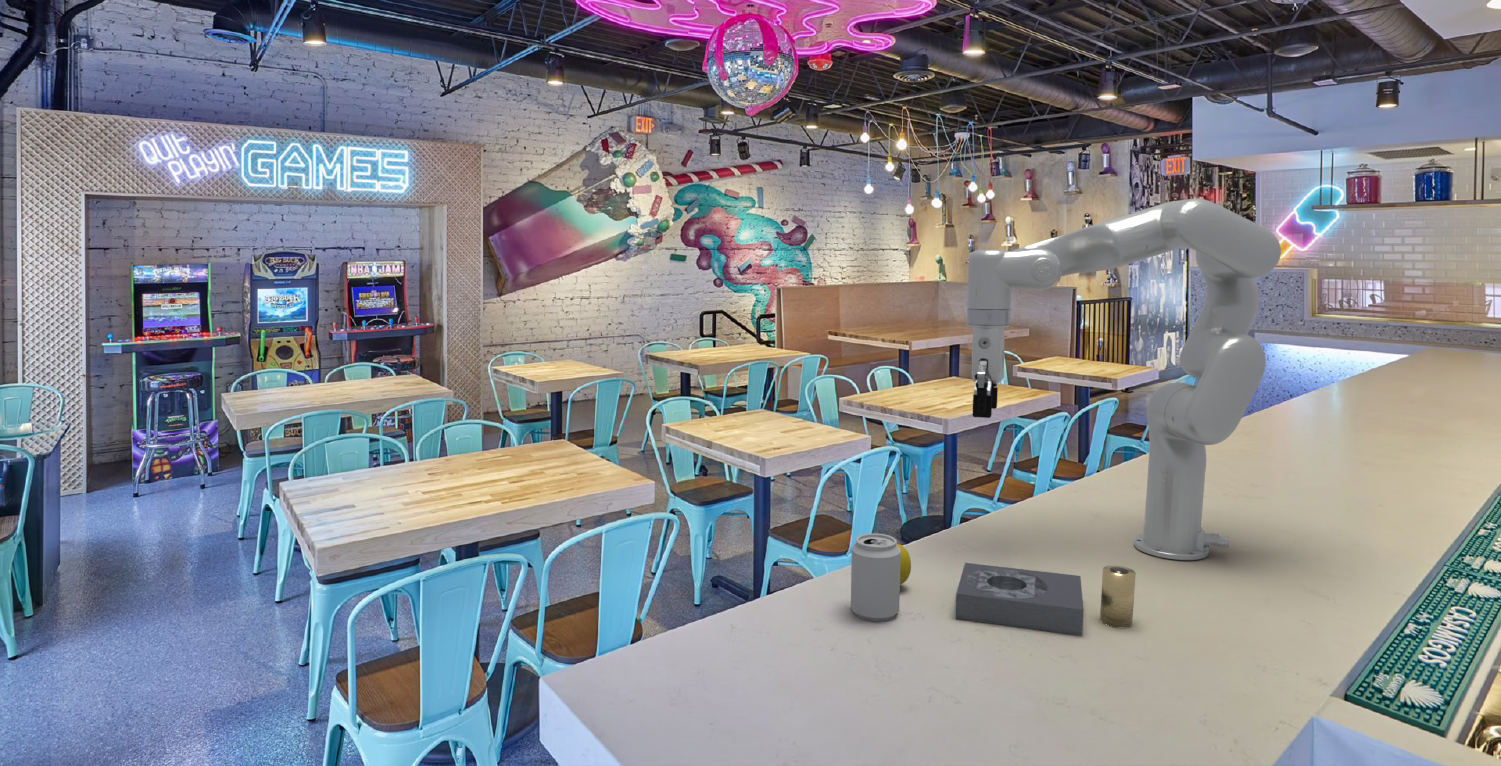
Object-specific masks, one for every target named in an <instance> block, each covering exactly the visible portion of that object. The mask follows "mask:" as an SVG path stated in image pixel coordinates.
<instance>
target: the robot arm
mask: <svg viewBox="0 0 1501 766" xmlns="http://www.w3.org/2000/svg"><path fill="white" fill-rule="evenodd" d="M1186 249H1187V250H1188V249H1189V250H1190V249H1192V250H1194V251H1195V260H1196V264H1197V266H1198V268H1199V270H1200V272H1201V274H1202V275H1203V278H1204V281H1205V285H1206V296H1205V297H1206V298H1205V301H1204V303H1203V305H1202V308H1201V311H1200V312H1199V316H1198V317H1197V319H1196V321H1195V323H1194V325H1193V327H1192V328H1191V331H1190V333H1189V335H1188V337H1187V339H1186V341H1185V342H1184V344H1183V346H1182V349H1181V352H1180V354H1179V364H1180V367H1181V369H1182V370H1183V371H1184V372H1185V373H1186V374H1187V375H1188V376H1189V377H1192V378H1194V379H1196V380H1197V379H1198V380H1199V381H1198V383H1197V384H1196V385H1193V384H1191V383H1185V382H1178V381H1177V382H1168V383H1166V384H1163V385H1161V386H1159V387H1158V388H1157V389H1155V391H1154V392H1153V393H1152V394H1151V396H1150V398H1149V400H1148V404H1147V409H1146V415H1147V417H1146V419H1147V420H1146V421H1147V428H1148V429H1147V430H1148V436H1149V437H1148V439H1149V445H1148V447H1149V449H1148V450H1149V451H1148V468H1147V479H1146V482H1147V483H1146V496H1145V497H1146V498H1145V510H1144V525H1143V526H1144V527H1143V534H1139V535H1136V536H1135V537H1134V540H1133V545H1134V546H1135V548H1136V549H1137V550H1138V551H1140V552H1142V553H1145V554H1148V555H1150V556H1151V555H1152V556H1153V557H1158V558H1163V559H1168V560H1176V561H1177V560H1178V561H1196V560H1202V559H1204V558H1207V557H1208V556H1209V551H1210V549H1209V548H1210V546H1216V547H1219V548H1229V547H1230V537H1229V536H1222V535H1221V536H1220V534H1219V533H1214V532H1211V533H1209V532H1205V531H1204V529H1203V527H1202V519H1203V518H1202V517H1203V506H1204V492H1205V483H1206V480H1205V479H1206V471H1207V470H1206V469H1207V449H1206V446H1213V445H1216V444H1217V445H1218V444H1220V443H1222V442H1223V441H1225V440H1227V439H1228V438H1229V437H1230V436H1231V435H1232V434H1233V433H1234V431H1236V429H1237V428H1238V427H1237V426H1238V425H1239V424H1240V421H1242V419H1243V416H1244V414H1245V412H1246V411H1247V408H1248V407H1249V405H1250V402H1251V401H1252V399H1253V397H1254V395H1255V393H1256V391H1257V390H1258V388H1259V385H1260V383H1261V382H1262V379H1263V377H1264V375H1265V374H1264V373H1265V370H1266V365H1267V363H1266V362H1267V360H1266V358H1267V357H1266V353H1265V350H1264V347H1263V346H1262V344H1261V343H1260V341H1258V340H1257V339H1256V338H1254V337H1253V336H1251V335H1248V334H1249V332H1250V331H1251V330H1250V329H1251V327H1252V325H1253V324H1254V323H1253V322H1254V320H1255V319H1256V315H1257V314H1258V313H1257V312H1258V310H1259V305H1260V293H1259V292H1260V291H1259V288H1258V285H1257V284H1258V283H1257V281H1256V278H1259V277H1260V278H1261V277H1263V276H1266V275H1267V274H1269V273H1270V272H1272V271H1273V270H1274V269H1275V268H1276V266H1277V265H1278V264H1279V262H1280V260H1281V256H1282V255H1281V254H1282V248H1281V243H1280V242H1279V239H1278V238H1277V237H1276V235H1275V234H1274V233H1273V232H1271V231H1270V230H1269V229H1267V228H1265V227H1263V226H1262V225H1260V224H1258V223H1256V222H1254V221H1252V220H1249V219H1248V218H1246V217H1244V216H1241V215H1239V214H1238V213H1236V212H1234V211H1232V210H1230V209H1228V208H1226V207H1223V206H1221V205H1219V204H1218V203H1215V202H1212V201H1211V200H1207V199H1204V198H1189V199H1188V198H1187V199H1182V200H1175V201H1168V202H1163V203H1160V204H1158V205H1155V206H1151V207H1148V208H1144V209H1141V210H1138V211H1135V212H1132V213H1128V214H1126V215H1123V216H1119V217H1116V218H1114V219H1113V218H1112V219H1109V220H1105V221H1103V222H1100V223H1096V224H1092V225H1089V226H1087V227H1084V228H1080V229H1078V230H1076V231H1071V232H1069V233H1068V232H1067V233H1066V234H1062V235H1058V236H1056V237H1052V238H1049V239H1045V240H1041V241H1037V242H1035V243H1032V244H1029V245H1025V246H1022V247H1019V248H1016V249H1014V250H1011V251H1009V250H1006V249H977V250H974V251H972V252H971V253H970V254H969V256H968V257H969V258H968V271H967V273H968V274H967V276H968V277H967V278H968V279H967V302H966V303H967V305H966V306H967V307H966V308H967V311H966V327H967V328H971V329H972V338H971V339H972V341H971V342H972V345H971V380H972V381H973V382H974V389H973V394H972V417H973V418H983V419H990V418H991V417H992V412H993V411H992V410H993V409H994V410H996V409H997V407H998V391H999V390H998V384H1000V383H1001V382H1002V381H1003V379H1004V378H1005V329H1009V328H1011V306H1012V290H1013V289H1015V290H1025V291H1030V292H1039V291H1040V292H1041V291H1045V290H1048V289H1050V288H1052V287H1053V286H1055V284H1056V283H1057V282H1058V281H1059V280H1060V278H1062V277H1066V276H1069V275H1074V274H1075V275H1076V274H1080V273H1090V272H1103V271H1109V270H1113V269H1117V268H1120V267H1124V266H1127V265H1131V264H1133V263H1136V262H1139V261H1143V260H1145V259H1149V258H1152V257H1156V256H1158V255H1163V254H1165V253H1170V252H1172V251H1176V250H1186Z"/></svg>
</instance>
